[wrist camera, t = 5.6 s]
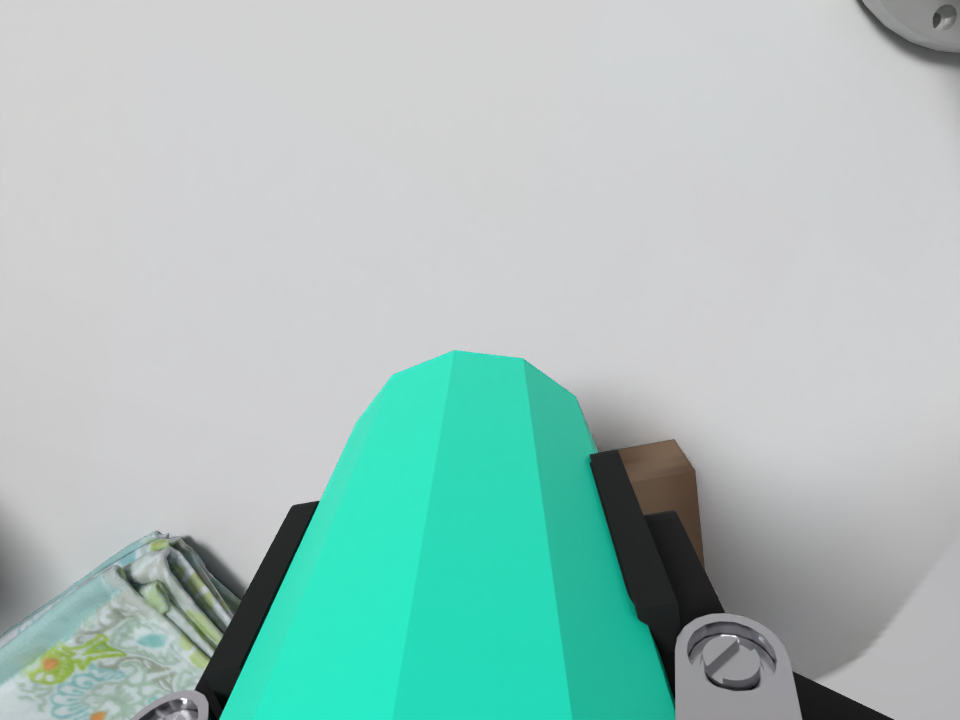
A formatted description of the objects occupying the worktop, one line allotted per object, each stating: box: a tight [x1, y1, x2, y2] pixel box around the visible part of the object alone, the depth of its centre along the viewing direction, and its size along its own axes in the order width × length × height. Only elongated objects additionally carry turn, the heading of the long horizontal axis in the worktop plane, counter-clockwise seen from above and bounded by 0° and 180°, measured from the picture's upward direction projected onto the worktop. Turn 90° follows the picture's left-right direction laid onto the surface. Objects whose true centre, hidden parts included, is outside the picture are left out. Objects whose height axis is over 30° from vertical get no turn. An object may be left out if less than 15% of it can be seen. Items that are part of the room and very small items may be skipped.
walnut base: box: [618, 439, 705, 570], centre depth 30 cm, size 12×12×3 cm
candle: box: [219, 350, 675, 720], centre depth 9 cm, size 6×6×12 cm
